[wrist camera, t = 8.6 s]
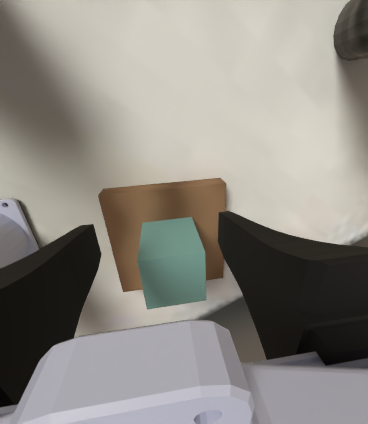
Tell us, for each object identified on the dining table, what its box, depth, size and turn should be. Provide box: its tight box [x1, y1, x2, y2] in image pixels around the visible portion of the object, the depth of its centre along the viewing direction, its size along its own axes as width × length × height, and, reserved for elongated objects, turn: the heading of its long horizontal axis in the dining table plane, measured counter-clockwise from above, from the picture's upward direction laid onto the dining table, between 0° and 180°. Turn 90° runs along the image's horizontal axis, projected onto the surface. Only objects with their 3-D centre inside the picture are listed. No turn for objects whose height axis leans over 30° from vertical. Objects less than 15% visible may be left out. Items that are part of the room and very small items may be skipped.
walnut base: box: [98, 178, 226, 292], centre depth 22 cm, size 12×12×2 cm
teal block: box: [137, 217, 206, 309], centre depth 18 cm, size 5×5×6 cm
